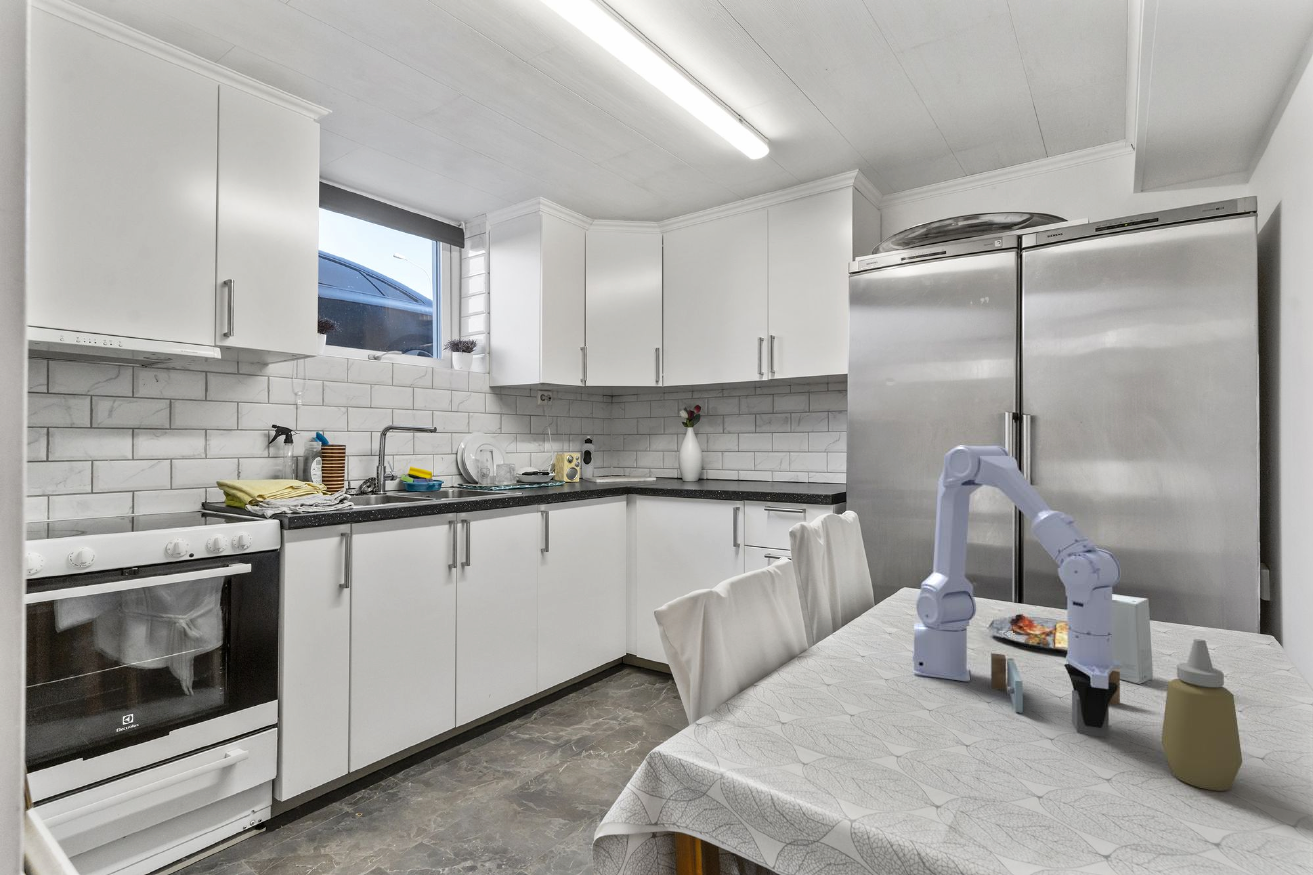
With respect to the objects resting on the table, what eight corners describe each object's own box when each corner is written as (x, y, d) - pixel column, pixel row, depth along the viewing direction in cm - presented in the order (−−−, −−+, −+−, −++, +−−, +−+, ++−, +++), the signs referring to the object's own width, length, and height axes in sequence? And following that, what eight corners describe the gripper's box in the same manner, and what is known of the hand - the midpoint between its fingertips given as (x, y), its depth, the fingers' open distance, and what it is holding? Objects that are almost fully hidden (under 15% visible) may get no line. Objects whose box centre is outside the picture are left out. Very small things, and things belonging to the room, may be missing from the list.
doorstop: (1077, 732, 98) (1076, 699, 98) (1072, 722, 102) (1072, 690, 102) (1108, 737, 96) (1108, 703, 97) (1102, 726, 100) (1102, 694, 100)
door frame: (992, 688, 116) (991, 657, 116) (991, 683, 118) (991, 653, 118) (1120, 705, 108) (1120, 672, 108) (1117, 700, 110) (1116, 667, 111)
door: (1000, 685, 117) (1000, 657, 117) (1013, 686, 116) (1013, 658, 116) (1008, 710, 106) (1008, 679, 106) (1022, 712, 105) (1022, 681, 105)
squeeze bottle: (1145, 766, 88) (1144, 632, 88) (1200, 763, 88) (1199, 630, 89) (1200, 798, 80) (1199, 650, 80) (1260, 795, 80) (1259, 649, 81)
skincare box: (1153, 679, 121) (1153, 598, 121) (1139, 685, 117) (1139, 603, 118) (1102, 666, 128) (1102, 590, 128) (1088, 672, 124) (1087, 594, 125)
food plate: (999, 618, 162) (999, 604, 162) (1113, 636, 149) (1113, 620, 149) (981, 646, 142) (981, 630, 142) (1111, 669, 128) (1111, 651, 128)
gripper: (1134, 647, 91) (1134, 744, 91) (1109, 621, 104) (1110, 706, 104) (1074, 640, 94) (1075, 735, 94) (1058, 616, 107) (1058, 699, 107)
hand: (1089, 720), depth 99 cm, fingers closed on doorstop, 4 cm apart
